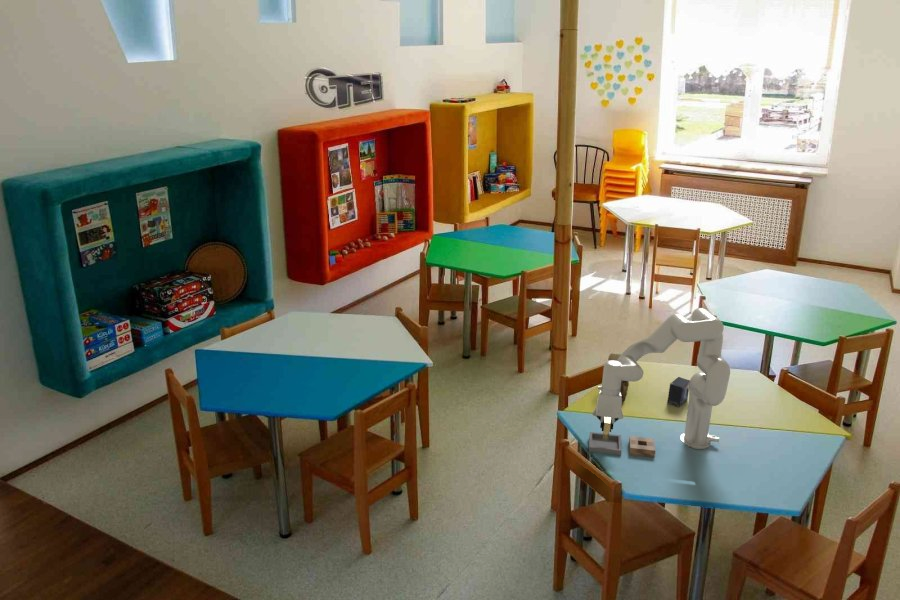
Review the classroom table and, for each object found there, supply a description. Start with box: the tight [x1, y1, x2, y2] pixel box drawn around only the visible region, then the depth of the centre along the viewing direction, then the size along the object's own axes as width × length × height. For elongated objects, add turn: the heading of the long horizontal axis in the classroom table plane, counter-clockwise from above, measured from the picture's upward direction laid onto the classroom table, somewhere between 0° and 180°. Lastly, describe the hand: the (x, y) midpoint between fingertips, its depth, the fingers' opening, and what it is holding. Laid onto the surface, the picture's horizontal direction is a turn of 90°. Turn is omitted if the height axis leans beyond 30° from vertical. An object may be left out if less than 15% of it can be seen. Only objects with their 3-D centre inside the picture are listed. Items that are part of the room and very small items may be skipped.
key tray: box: [588, 431, 623, 456], centre depth 326 cm, size 13×13×3 cm
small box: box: [666, 376, 690, 408], centre depth 367 cm, size 11×6×10 cm, turn 143°
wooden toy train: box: [607, 353, 630, 402], centre depth 373 cm, size 20×11×17 cm, turn 163°
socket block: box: [628, 435, 656, 458], centre depth 323 cm, size 10×10×4 cm
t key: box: [602, 417, 611, 441], centre depth 324 cm, size 8×2×9 cm, turn 169°
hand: (606, 429), depth 324 cm, fingers closed on t key, 2 cm apart
